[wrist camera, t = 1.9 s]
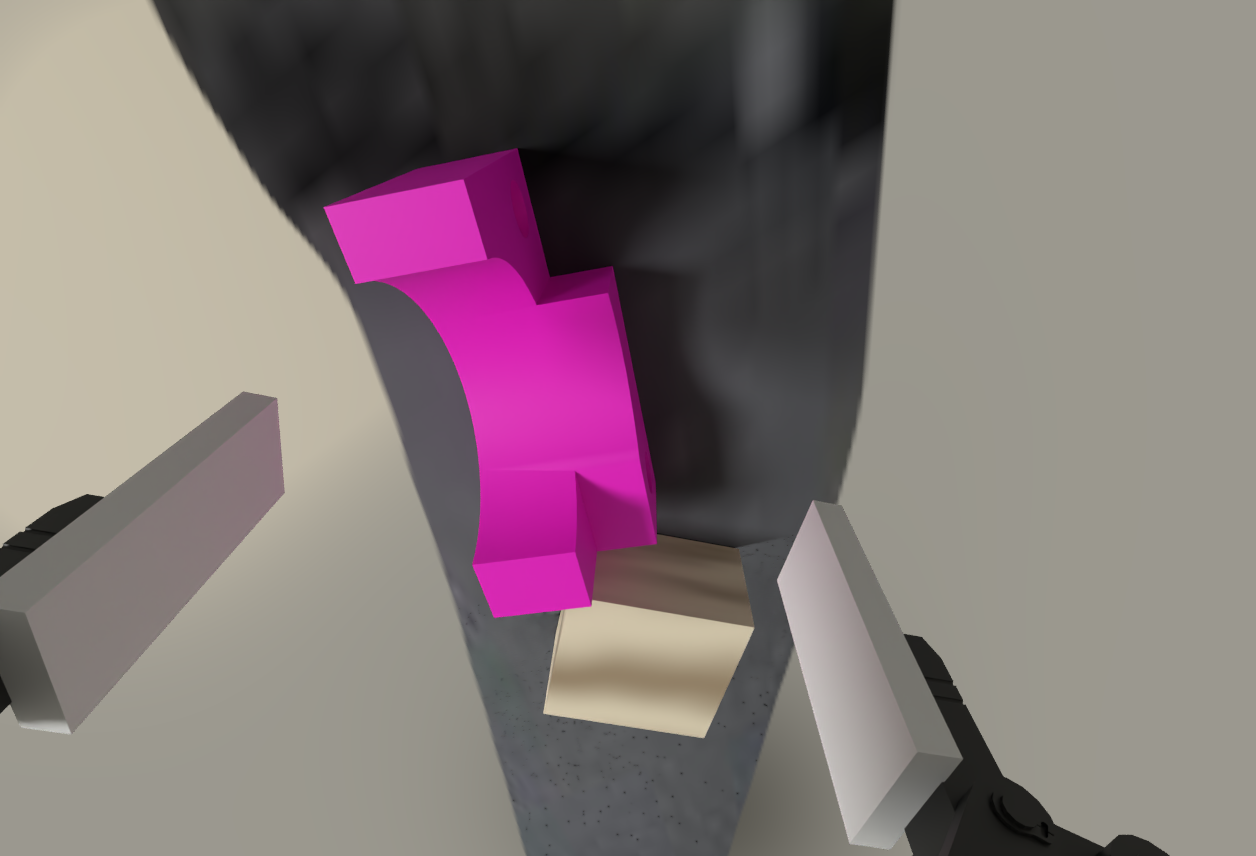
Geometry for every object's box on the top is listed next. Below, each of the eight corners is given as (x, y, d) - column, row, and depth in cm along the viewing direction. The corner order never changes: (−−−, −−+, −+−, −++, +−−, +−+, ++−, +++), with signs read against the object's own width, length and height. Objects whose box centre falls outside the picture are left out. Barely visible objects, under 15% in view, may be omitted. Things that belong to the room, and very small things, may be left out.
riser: (581, 520, 30) (570, 596, 25) (738, 548, 30) (754, 627, 26) (556, 631, 34) (543, 713, 29) (696, 654, 34) (704, 738, 30)
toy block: (655, 480, 29) (658, 598, 22) (527, 497, 29) (494, 617, 23) (587, 133, 21) (561, 159, 15) (418, 168, 22) (323, 207, 16)
